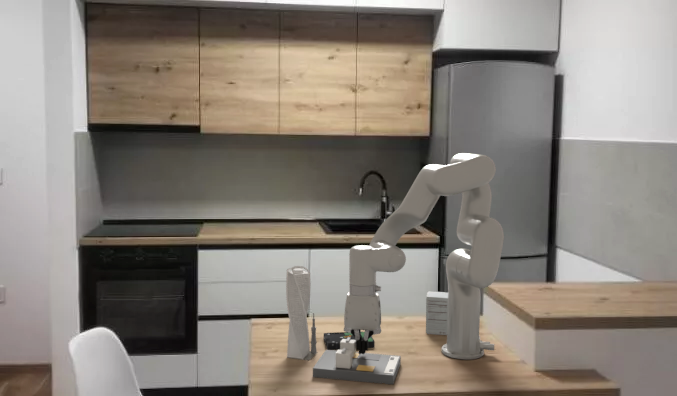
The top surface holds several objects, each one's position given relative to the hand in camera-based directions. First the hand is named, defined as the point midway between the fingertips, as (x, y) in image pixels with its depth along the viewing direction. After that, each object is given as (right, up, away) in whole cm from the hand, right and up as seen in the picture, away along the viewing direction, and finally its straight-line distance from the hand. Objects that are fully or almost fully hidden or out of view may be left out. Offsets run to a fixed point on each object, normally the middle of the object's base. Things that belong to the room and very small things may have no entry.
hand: (362, 352), depth 186 cm
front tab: (-5, -2, -8) cm, 10 cm away
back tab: (-4, -1, +1) cm, 4 cm away
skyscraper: (-18, -3, +8) cm, 20 cm away
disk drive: (-4, -2, +19) cm, 19 cm away
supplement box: (+26, -1, +31) cm, 41 cm away
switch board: (-1, -4, -4) cm, 6 cm away
